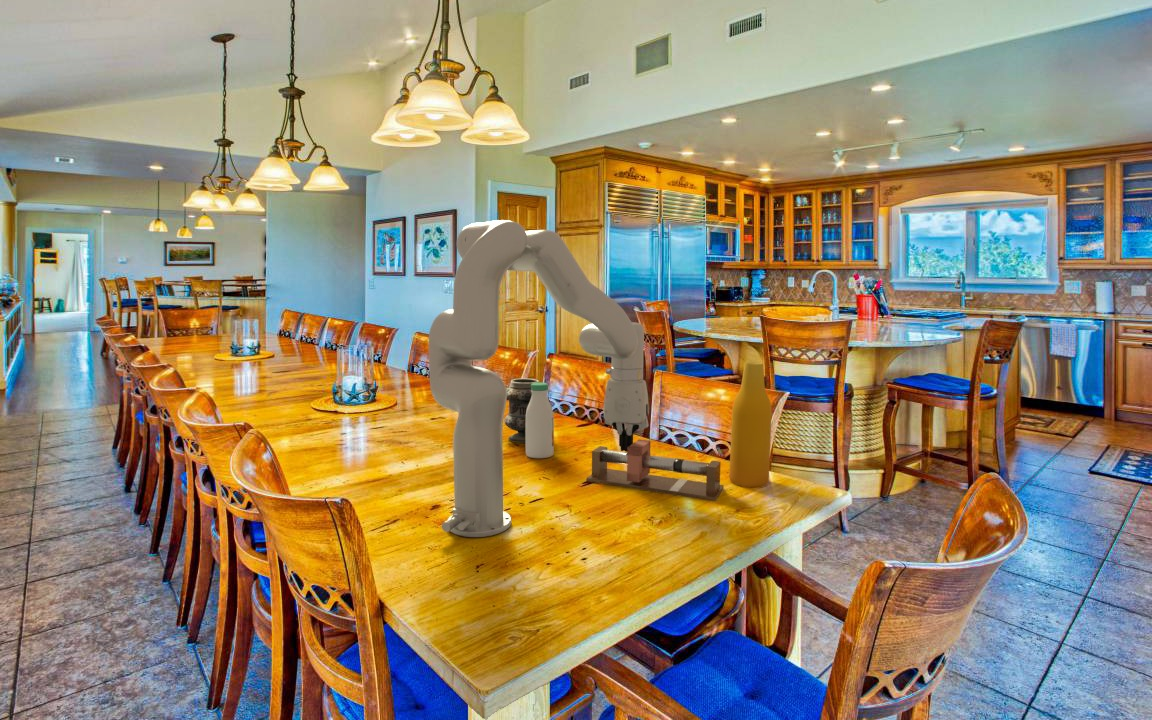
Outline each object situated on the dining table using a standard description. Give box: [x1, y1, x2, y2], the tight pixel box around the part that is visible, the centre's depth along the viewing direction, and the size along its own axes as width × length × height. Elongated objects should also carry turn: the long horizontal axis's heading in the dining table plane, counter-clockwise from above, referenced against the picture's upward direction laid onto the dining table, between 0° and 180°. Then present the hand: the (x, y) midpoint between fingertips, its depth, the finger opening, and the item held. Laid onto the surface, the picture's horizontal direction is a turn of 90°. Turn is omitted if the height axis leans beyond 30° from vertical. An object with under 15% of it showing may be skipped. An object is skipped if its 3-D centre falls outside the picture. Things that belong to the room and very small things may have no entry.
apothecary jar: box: [503, 377, 540, 444], centre depth 189 cm, size 12×12×18 cm
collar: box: [626, 439, 652, 482], centre depth 150 cm, size 8×3×8 cm, turn 155°
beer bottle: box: [728, 361, 773, 489], centre depth 150 cm, size 9×9×29 cm
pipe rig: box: [586, 445, 724, 502], centre depth 149 cm, size 9×31×7 cm, turn 65°
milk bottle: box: [525, 382, 555, 459], centre depth 172 cm, size 8×8×20 cm
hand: (625, 449), depth 151 cm, fingers closed
